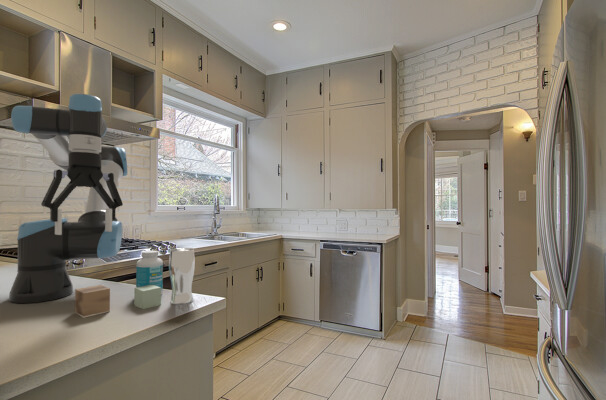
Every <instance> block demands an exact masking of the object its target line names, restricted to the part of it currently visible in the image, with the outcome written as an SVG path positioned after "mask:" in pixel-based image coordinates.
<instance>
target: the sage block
mask: <svg viewBox="0 0 606 400" xmlns="http://www.w3.org/2000/svg"><path fill="white" fill-rule="evenodd" d="M133 291H134V294H133V295H134V300H133V301H134V302H133V303H134V306H135V307H137V308H139V309H141V310H146V309H150V308H154V307H158V306H161V305H162V294H161V287H158V286H155V285H147V286H142V287H137V288H136V287H134V290H133Z"/></svg>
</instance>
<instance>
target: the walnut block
mask: <svg viewBox="0 0 606 400" xmlns="http://www.w3.org/2000/svg"><path fill="white" fill-rule="evenodd" d="M74 294H75V296H74V299H75V300H74V303H75V304H74V313H75V314H76V315H78V316H80V317H81V318H87V317H92V316H97V315H101V314H104V313H105V314H106V313H109V312H111V310H110V309H111V304H110V303H111V289H110V288H109V287H107V286H105V285H102V284H99V285H93V286H86V287H81V288H75V290H74Z"/></svg>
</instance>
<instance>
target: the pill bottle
mask: <svg viewBox="0 0 606 400" xmlns="http://www.w3.org/2000/svg"><path fill="white" fill-rule="evenodd" d="M158 256H159V251H158V250H144V251H141V257H142V258H140V259H139V260H138V261H137V262H136V264H135V265H136V266H135V268H136V269H135V271H136V273H135V275H136V277H135V288H137V287H142V286H147V285H155V286H158V287H161V295H162V294H163V290H164V289H163V288H164V285H163V284H164V283H163V281H164V277H163V276H164V261H163V259H161V258H160V257H158Z"/></svg>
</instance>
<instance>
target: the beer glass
mask: <svg viewBox="0 0 606 400" xmlns="http://www.w3.org/2000/svg"><path fill="white" fill-rule="evenodd" d="M195 259H196V258H195V249H194V248H193V247H179V248H171V249H169V257H168V261H169V262H168V271H169V278H170V284H171V297H170V304H171V305H176V304H177V305H178V306H179V305H180V304H181V305H186V304H190V303H192V302H193V301H194V299H193V293H192V291H193V290H192V285H193V279H194V275H195V266H196V265H195V264H196V263H195V261H196V260H195Z"/></svg>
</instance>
